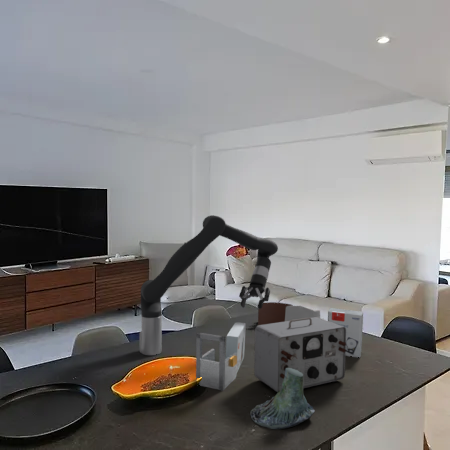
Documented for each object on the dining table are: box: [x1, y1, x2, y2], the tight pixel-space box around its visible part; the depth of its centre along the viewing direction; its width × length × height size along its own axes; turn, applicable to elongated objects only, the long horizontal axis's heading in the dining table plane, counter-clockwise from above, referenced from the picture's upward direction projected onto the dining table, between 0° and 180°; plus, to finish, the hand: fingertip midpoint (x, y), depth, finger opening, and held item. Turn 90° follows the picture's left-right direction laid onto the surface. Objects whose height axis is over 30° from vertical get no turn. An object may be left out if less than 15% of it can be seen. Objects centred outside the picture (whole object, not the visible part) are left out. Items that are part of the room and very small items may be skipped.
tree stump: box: [249, 368, 316, 430], centre depth 141 cm, size 18×20×18 cm
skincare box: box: [225, 321, 247, 375], centre depth 184 cm, size 21×6×16 cm, turn 168°
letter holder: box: [257, 301, 294, 326], centre depth 245 cm, size 10×20×14 cm, turn 80°
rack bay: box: [195, 331, 238, 391], centre depth 167 cm, size 12×13×20 cm
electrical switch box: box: [285, 305, 321, 321], centre depth 215 cm, size 15×15×20 cm
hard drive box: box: [327, 307, 364, 359], centre depth 200 cm, size 16×8×20 cm, turn 68°
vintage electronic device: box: [253, 317, 346, 393], centre depth 167 cm, size 32×18×25 cm, turn 117°
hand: (250, 307), depth 198 cm, fingers open, 8 cm apart
